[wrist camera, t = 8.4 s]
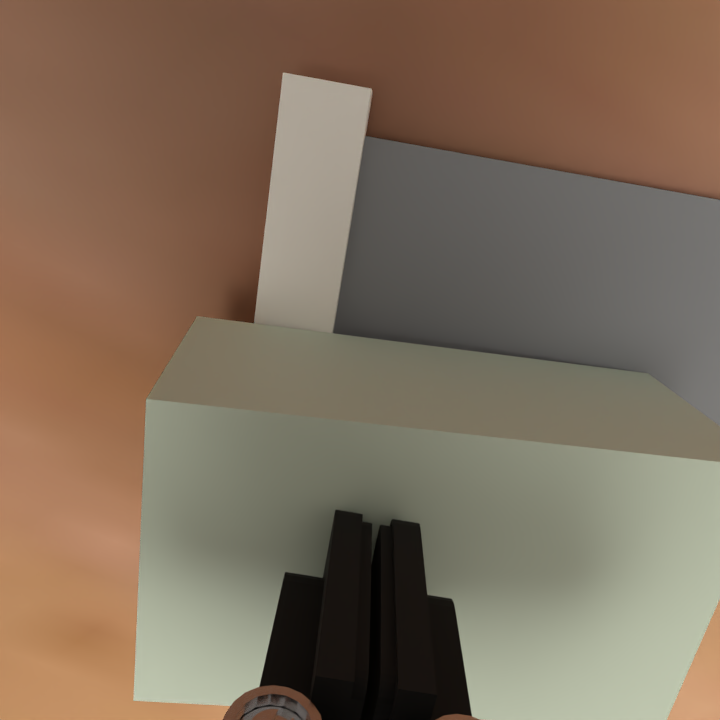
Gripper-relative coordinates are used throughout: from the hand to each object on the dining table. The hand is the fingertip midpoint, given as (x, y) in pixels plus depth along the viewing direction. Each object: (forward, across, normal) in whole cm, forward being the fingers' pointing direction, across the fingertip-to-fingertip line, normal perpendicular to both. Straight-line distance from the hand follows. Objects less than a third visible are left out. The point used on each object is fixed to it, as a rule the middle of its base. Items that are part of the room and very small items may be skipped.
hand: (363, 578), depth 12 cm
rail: (+7, +2, 0) cm, 7 cm away
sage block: (+2, +5, 0) cm, 5 cm away
